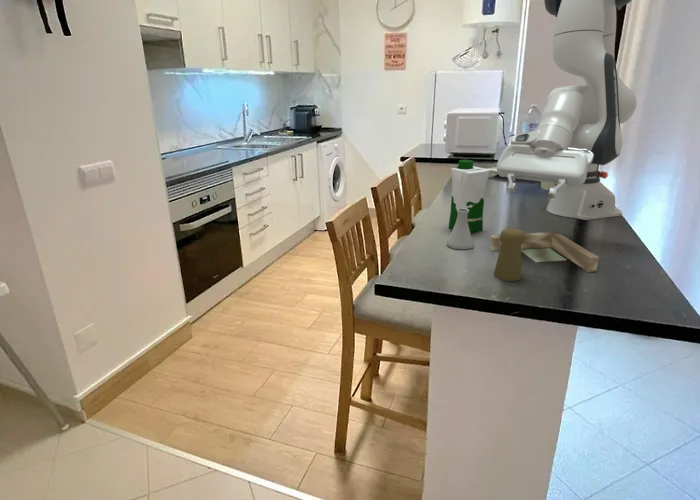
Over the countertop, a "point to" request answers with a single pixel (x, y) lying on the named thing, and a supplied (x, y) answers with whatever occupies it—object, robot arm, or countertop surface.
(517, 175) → the robot arm
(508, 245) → the cork
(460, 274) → the countertop surface
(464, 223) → the flask
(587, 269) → the corner arena
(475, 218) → the milk carton
